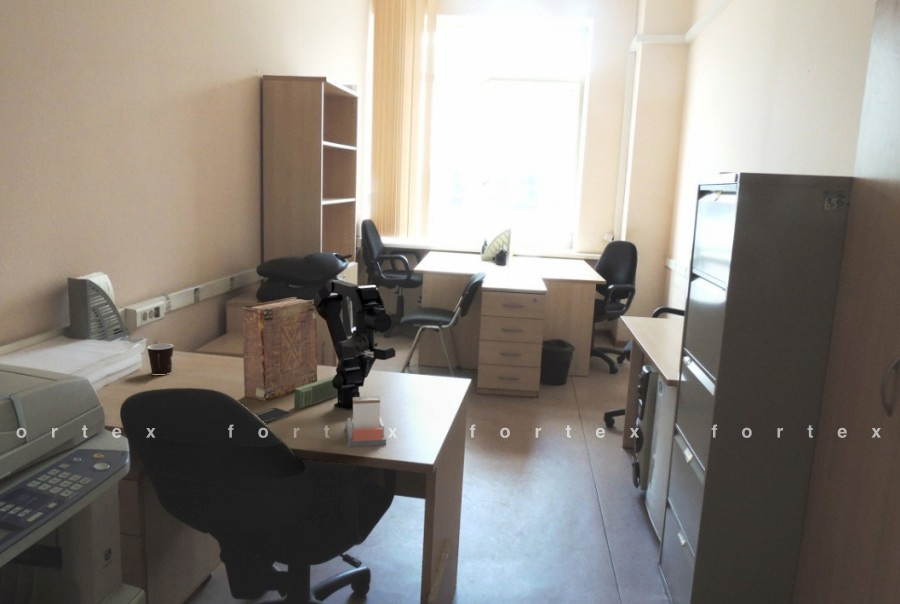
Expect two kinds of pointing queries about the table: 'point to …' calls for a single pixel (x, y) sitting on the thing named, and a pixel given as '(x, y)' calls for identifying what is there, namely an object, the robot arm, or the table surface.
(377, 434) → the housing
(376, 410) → the white box
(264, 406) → the table surface
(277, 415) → the phone
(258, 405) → the table surface
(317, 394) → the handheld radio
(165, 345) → the coffee mug
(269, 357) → the book
